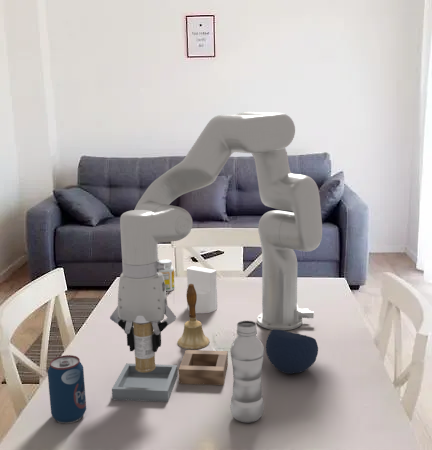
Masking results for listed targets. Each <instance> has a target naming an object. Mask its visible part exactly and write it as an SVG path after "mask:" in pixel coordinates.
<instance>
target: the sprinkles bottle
mask: <svg viewBox="0 0 432 450" xmlns="http://www.w3.org/2000/svg"><path fill="white" fill-rule="evenodd" d="M133 328H134V358H135V359H134V360H135V363H134V364H136V366H135V369H136V370H137V371H138V372H143V373H145V372H151V371H153V370H154V369H155V368H156V365H155V364H156V358H155V357H156V352H154V351H153V343H152V335H153V333H154V329H153V326H152V323H151V322H149V321H146V320H145V318H144V317H143V316H137V317H136V320H135V321H133Z"/></svg>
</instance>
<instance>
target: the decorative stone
mask: <svg viewBox="0 0 432 450" xmlns="http://www.w3.org/2000/svg"><path fill="white" fill-rule="evenodd" d="M265 342H266V343H265V353H266V355H267V359H268V360H269V362H270V364H271V365H272V366H273V367H274V368H276V370H278V371H280V372H282V373H285V374H291V375H292V374H300V373H302V372H305V371H306V370H308V369H309V368H311V367H312V366H313V365H314V364H315V362H316V360H317V357H318V353H319V347H318V342H317V340H316V338H314V337H312V336H308V335H305V334H300V333H294V332H291V331H288V330H278V329H274V330H270V332H269V334H268V336H267V338H266V341H265Z"/></svg>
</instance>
